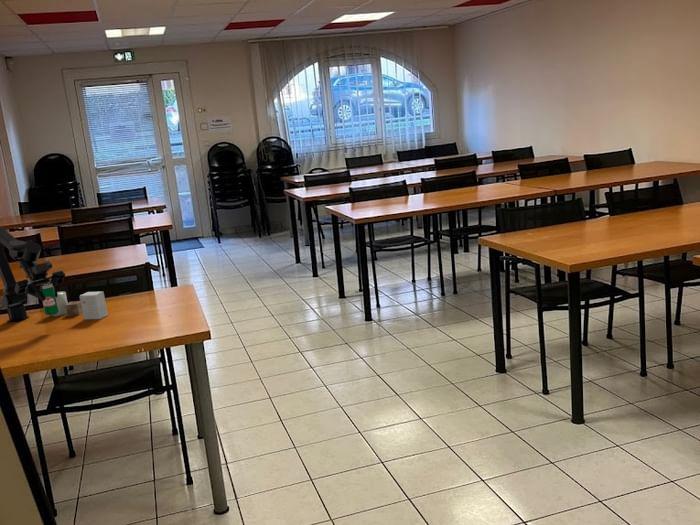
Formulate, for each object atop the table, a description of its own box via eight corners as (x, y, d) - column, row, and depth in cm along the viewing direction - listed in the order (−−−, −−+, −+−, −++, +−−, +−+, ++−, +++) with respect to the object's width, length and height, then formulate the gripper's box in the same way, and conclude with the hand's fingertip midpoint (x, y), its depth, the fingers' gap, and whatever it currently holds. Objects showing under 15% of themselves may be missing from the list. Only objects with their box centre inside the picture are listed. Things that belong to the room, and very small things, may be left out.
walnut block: (67, 316, 280) (65, 305, 279) (71, 313, 285) (69, 302, 284) (79, 315, 280) (77, 304, 279) (83, 311, 285) (81, 300, 284)
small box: (108, 315, 275) (104, 291, 273) (100, 319, 270) (95, 295, 268) (92, 315, 278) (87, 291, 275) (83, 319, 272) (79, 295, 270)
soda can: (44, 316, 257) (38, 287, 255) (46, 313, 262) (40, 284, 259) (57, 314, 258) (52, 285, 256) (59, 311, 263) (54, 282, 261)
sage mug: (68, 314, 283) (64, 294, 281) (51, 317, 281) (47, 297, 279) (70, 309, 291) (66, 290, 289) (53, 312, 289) (49, 292, 287)
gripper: (11, 261, 251) (30, 292, 246) (58, 250, 264) (77, 279, 260) (6, 279, 257) (25, 309, 253) (52, 268, 271) (71, 296, 267)
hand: (50, 298), depth 258 cm, fingers closed on soda can, 5 cm apart
